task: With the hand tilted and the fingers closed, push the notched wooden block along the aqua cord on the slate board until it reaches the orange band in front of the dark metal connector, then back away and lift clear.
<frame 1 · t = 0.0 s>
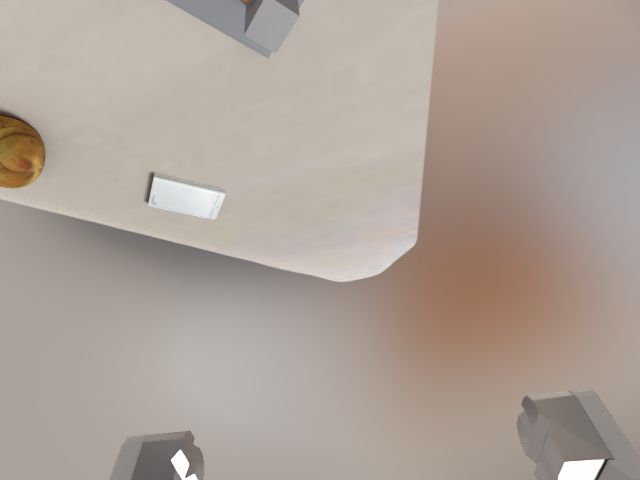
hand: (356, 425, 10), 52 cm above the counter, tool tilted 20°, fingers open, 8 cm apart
bread roll: (14, 141, 66), on the counter
hard drive: (187, 193, 78), on the counter
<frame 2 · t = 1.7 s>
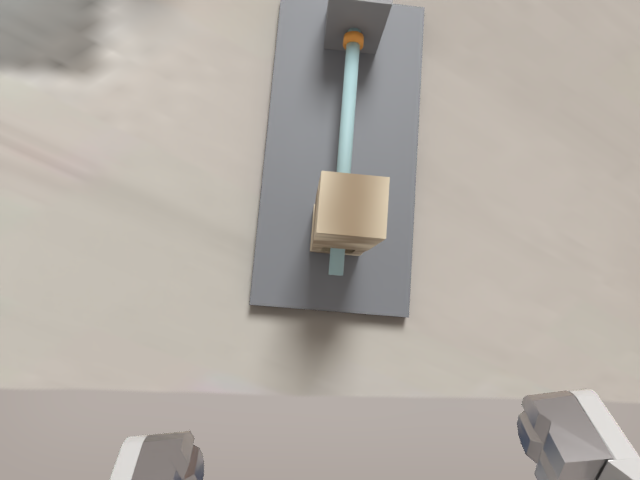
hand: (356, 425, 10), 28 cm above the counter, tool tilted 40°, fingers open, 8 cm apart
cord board: (340, 151, 40), on the counter
notched wooden block: (343, 220, 32), point 7 cm above the counter, slide at 0.0 cm
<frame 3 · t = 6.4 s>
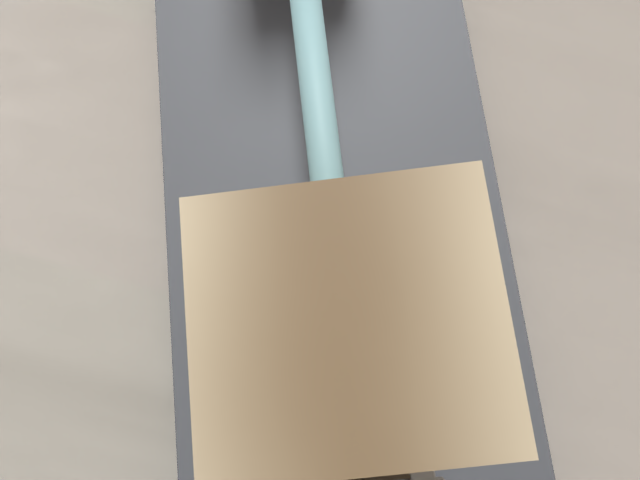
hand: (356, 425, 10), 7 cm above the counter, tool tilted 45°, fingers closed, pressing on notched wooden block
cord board: (324, 163, 19), on the counter
notched wooden block: (343, 317, 11), point 7 cm above the counter, slide at 1.1 cm, touching gripper
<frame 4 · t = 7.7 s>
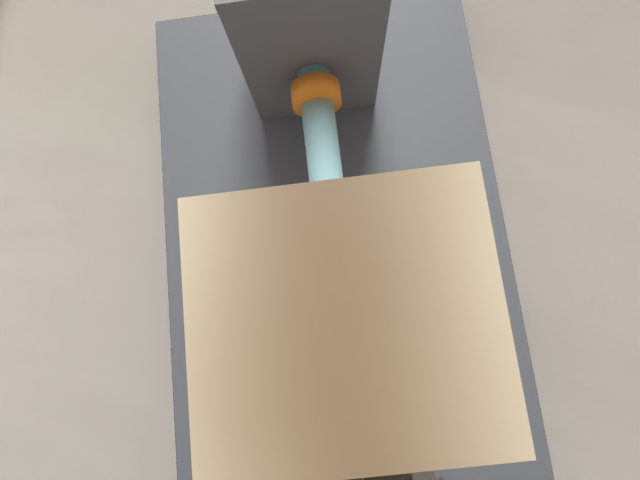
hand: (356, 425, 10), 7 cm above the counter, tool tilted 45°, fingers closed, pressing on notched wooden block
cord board: (344, 332, 18), on the counter
notched wooden block: (342, 317, 11), point 7 cm above the counter, slide at 8.7 cm, touching gripper
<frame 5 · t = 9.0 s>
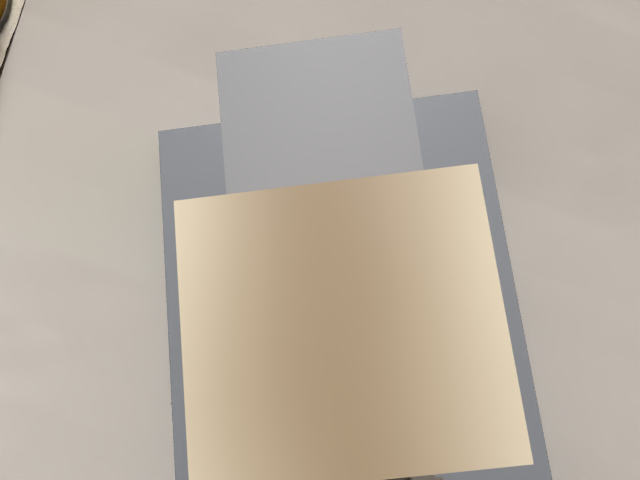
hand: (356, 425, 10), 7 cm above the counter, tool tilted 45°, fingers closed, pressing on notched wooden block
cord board: (359, 470, 17), on the counter
notched wooden block: (340, 318, 11), point 7 cm above the counter, slide at 14.1 cm, touching gripper
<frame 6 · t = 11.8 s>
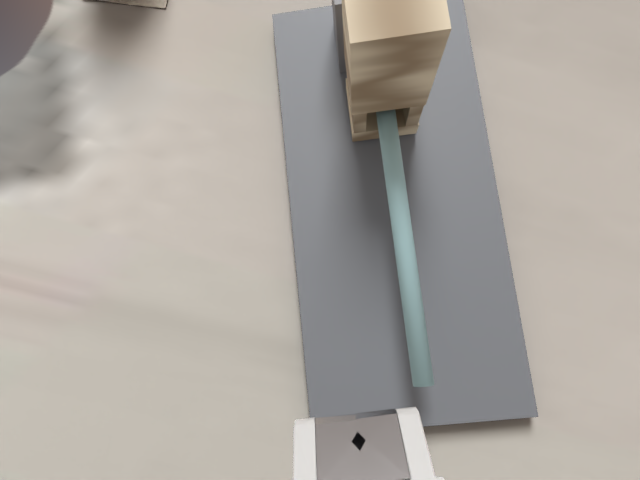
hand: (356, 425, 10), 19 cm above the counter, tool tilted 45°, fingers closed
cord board: (390, 199, 30), on the counter
notched wooden block: (385, 66, 24), point 7 cm above the counter, slide at 14.0 cm
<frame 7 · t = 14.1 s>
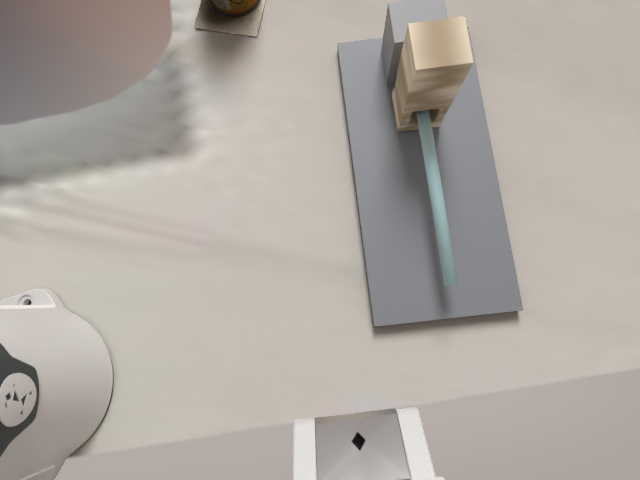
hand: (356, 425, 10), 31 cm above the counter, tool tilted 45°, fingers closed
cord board: (421, 171, 44), on the counter
notched wooden block: (426, 81, 38), point 7 cm above the counter, slide at 14.0 cm
condiment: (234, 1, 49), on the counter
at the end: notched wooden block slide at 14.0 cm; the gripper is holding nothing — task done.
